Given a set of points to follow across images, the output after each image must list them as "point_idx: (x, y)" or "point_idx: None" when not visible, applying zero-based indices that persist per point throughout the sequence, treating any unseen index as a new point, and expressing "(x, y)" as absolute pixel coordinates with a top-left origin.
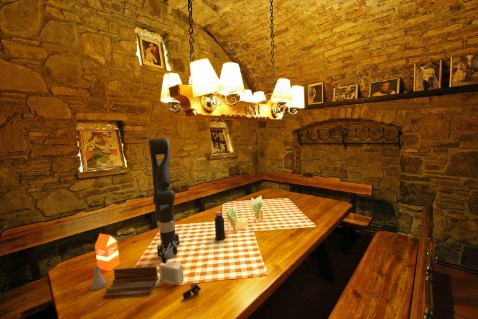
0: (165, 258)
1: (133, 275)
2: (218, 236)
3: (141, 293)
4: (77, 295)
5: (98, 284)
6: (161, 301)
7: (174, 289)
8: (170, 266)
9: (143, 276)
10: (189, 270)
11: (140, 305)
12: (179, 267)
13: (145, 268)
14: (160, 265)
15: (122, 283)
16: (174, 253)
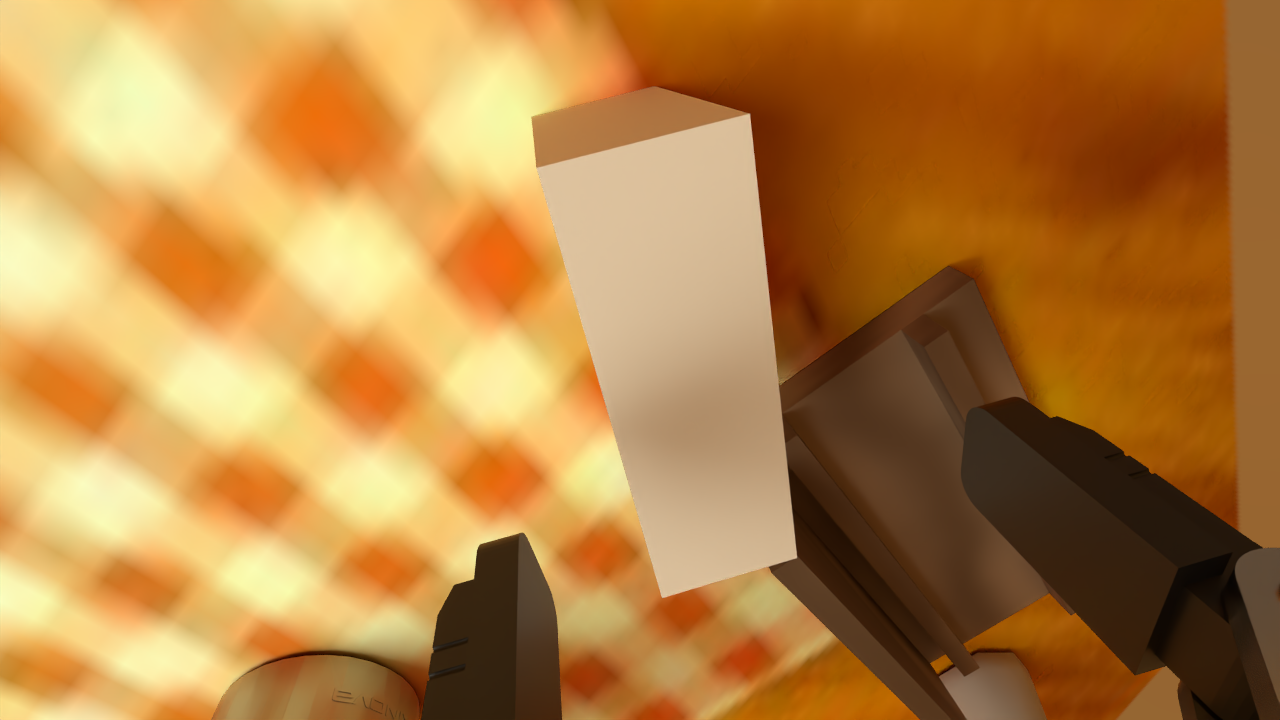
0: (1142, 498)
1: (883, 621)
2: None
3: (998, 346)
4: (1082, 674)
5: (1022, 689)
6: (1006, 24)
7: (755, 67)
8: (744, 356)
9: (826, 552)
10: (300, 248)
11: (1106, 206)
12: (664, 135)
13: (862, 622)
14: (790, 527)
15: (940, 597)
16: (543, 606)
